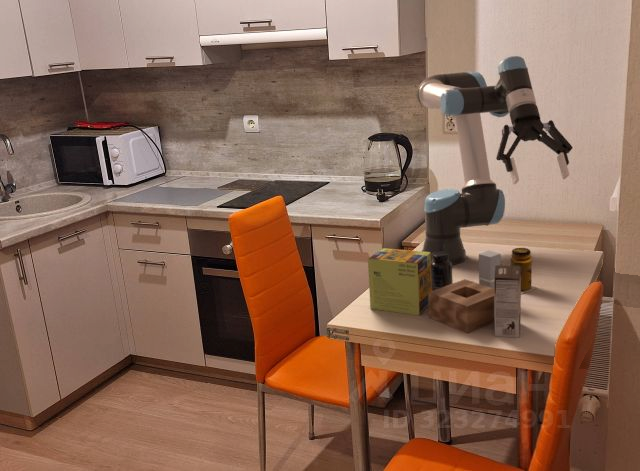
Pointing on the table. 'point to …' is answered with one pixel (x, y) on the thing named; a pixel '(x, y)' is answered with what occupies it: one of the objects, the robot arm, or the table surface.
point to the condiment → (523, 267)
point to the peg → (488, 267)
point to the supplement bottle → (440, 270)
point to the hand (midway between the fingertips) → (541, 179)
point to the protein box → (400, 280)
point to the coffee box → (507, 300)
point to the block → (463, 305)
